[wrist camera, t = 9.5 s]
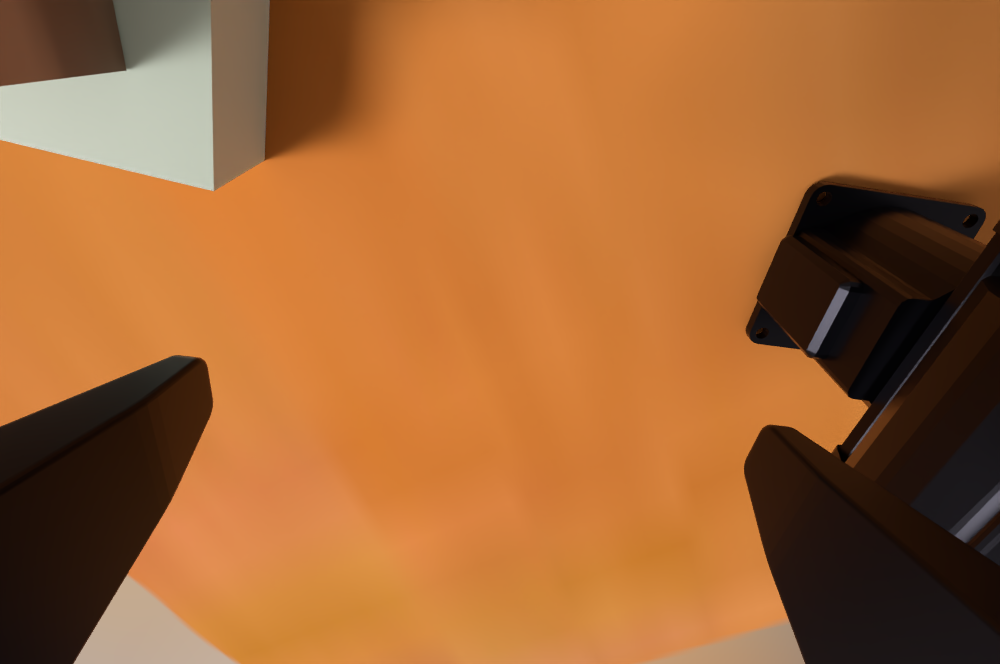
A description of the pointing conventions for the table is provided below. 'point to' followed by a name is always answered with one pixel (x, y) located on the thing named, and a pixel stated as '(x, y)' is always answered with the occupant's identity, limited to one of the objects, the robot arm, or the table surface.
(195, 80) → the sage base block
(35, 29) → the walnut block
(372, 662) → the table surface
